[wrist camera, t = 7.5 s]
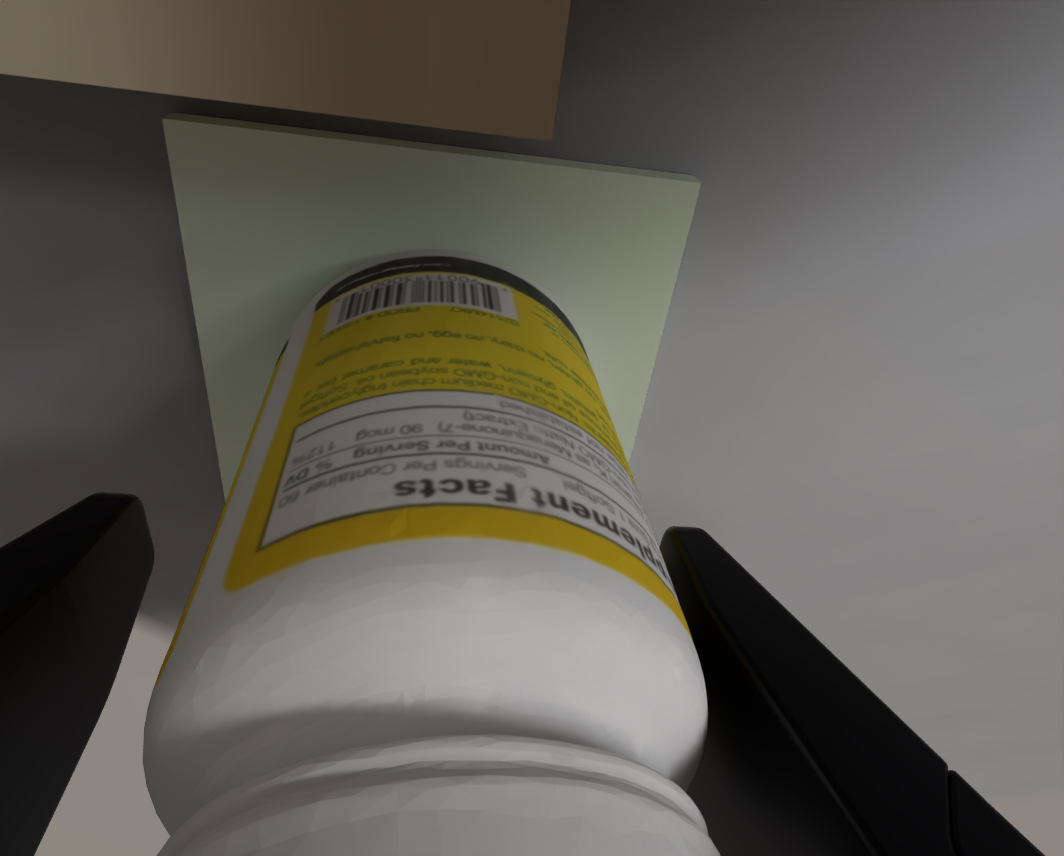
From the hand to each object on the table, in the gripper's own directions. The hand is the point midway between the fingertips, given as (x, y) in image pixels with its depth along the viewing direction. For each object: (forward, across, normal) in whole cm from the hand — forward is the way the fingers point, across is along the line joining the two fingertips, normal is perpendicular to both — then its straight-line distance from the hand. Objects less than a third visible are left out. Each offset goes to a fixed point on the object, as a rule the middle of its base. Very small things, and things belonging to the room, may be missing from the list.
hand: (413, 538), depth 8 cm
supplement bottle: (+4, 0, 0) cm, 4 cm away
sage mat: (+4, 0, 0) cm, 4 cm away
